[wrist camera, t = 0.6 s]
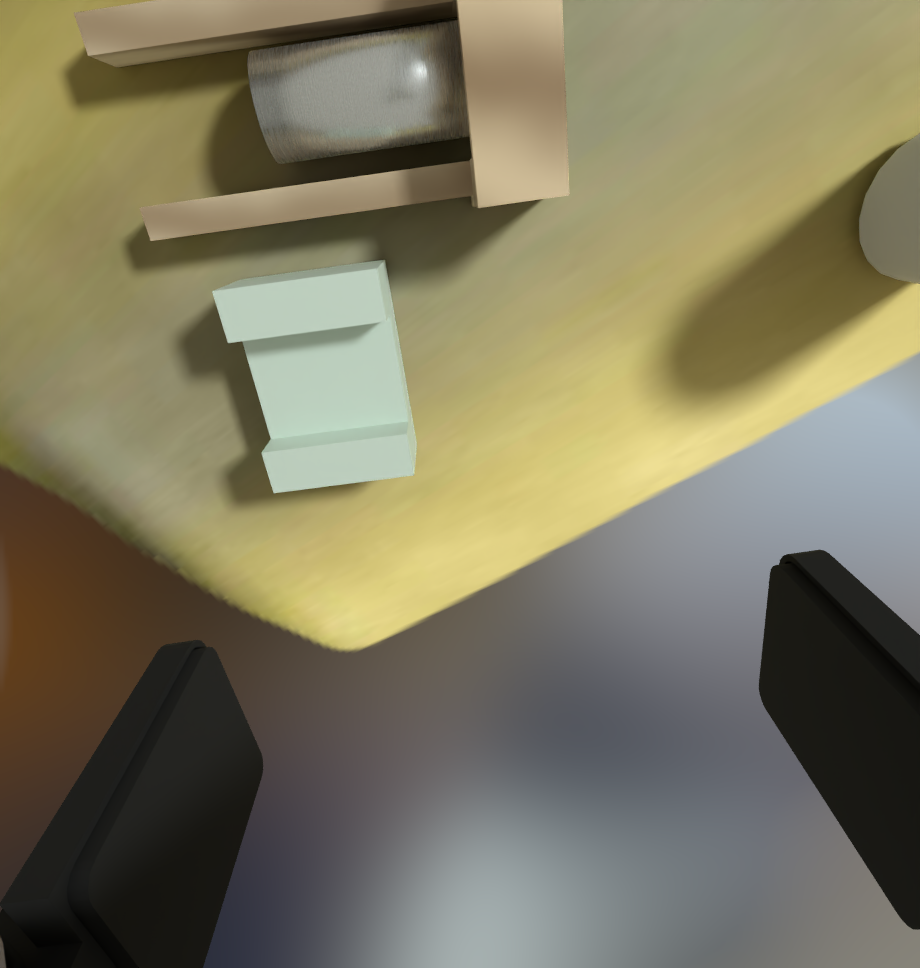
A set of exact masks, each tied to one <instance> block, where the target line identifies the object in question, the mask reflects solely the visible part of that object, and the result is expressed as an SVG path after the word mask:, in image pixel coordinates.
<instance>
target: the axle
mask: <svg viewBox="0 0 920 968" xmlns="http://www.w3.org/2000/svg"><path fill="white" fill-rule="evenodd" d="M247 64H248V76H249V83H250V89H251V94H252V99H253V103H254V107H255V111H256V114H257V118H258V121H259V124H260V128H261V130H262V133H263V136H264V139H265V141H266V144H267V146H268V148H269V150H270V152H271V154H272V156H273V158H274V159H275V160H276V162H277V163H279V164H284V163H291V162H298V161H305V160H312V159H319V158H326V157H333V156H340V155H347V154H353V153H360V152H367V151H374V150H381V149H388V148H395V147H402V146H409V145H416V144H423V143H430V142H437V141H444V140H451V139H458V138H465V137H470V134H469V124H468V114H467V104H466V94H465V85H464V75H463V65H462V55H461V45H460V35H459V26H458V20H455V21H448V22H441V23H435V24H428V25H421V26H414V27H408V28H401V29H394V30H388V31H381V32H374V33H367V34H361V35H354V36H347V37H341V38H334V39H327V40H320V41H314V42H307V43H300V44H294V45H287V46H280V47H273V48H267V49H260V50H253V51H250V52H249V54H248V62H247Z"/></svg>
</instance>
